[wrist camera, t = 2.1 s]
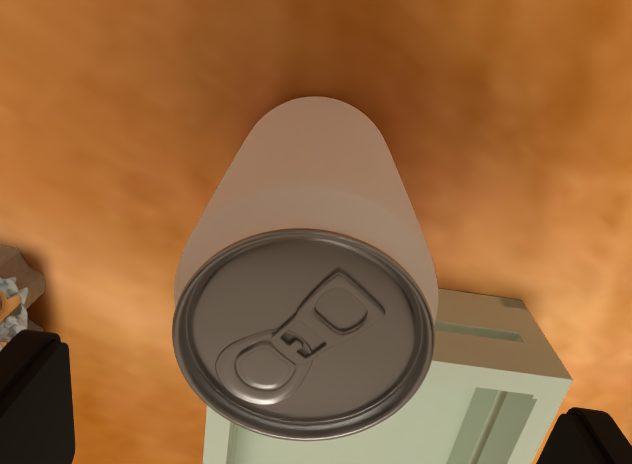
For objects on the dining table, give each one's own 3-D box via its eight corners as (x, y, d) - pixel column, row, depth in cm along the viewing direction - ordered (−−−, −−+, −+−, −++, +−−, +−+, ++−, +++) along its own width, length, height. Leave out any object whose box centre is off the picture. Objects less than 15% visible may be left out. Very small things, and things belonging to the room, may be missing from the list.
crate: (237, 259, 23) (212, 330, 18) (522, 300, 24) (572, 379, 19) (213, 504, 31) (192, 600, 26) (429, 530, 32) (448, 629, 27)
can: (210, 168, 21) (90, 344, 10) (316, 58, 19) (302, 138, 8) (314, 261, 23) (303, 491, 12) (420, 171, 21) (518, 353, 10)
